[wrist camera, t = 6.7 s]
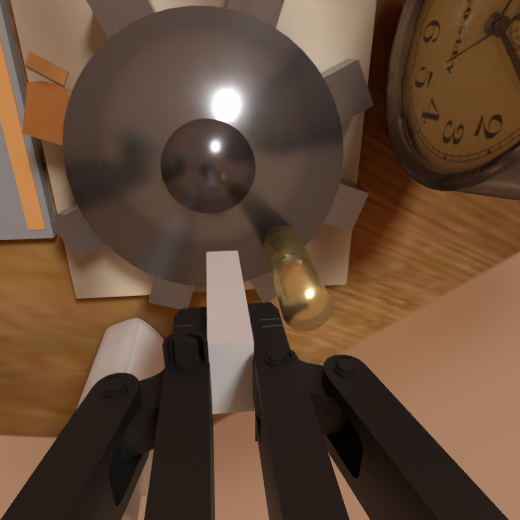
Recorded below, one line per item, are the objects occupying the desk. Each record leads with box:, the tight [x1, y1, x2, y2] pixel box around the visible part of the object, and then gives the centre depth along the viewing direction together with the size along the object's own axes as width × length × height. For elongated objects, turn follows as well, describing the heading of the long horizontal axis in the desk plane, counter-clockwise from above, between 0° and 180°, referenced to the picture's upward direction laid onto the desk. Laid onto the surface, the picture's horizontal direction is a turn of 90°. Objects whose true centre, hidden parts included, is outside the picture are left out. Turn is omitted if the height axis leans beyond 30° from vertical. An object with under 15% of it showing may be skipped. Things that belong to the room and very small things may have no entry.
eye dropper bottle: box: [76, 318, 165, 520], centre depth 20 cm, size 4×6×12 cm
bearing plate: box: [10, 0, 377, 299], centre depth 20 cm, size 15×15×1 cm
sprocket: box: [22, 0, 374, 331], centre depth 16 cm, size 15×15×8 cm
